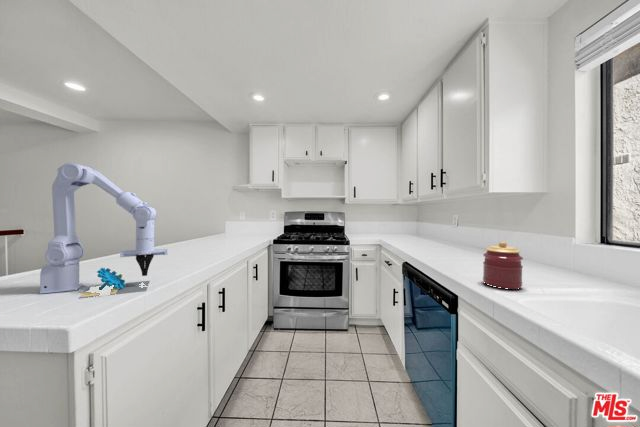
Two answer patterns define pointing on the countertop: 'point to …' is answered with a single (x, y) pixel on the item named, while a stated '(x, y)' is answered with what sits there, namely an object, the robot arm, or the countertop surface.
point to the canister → (503, 267)
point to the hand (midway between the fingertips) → (144, 275)
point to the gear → (110, 279)
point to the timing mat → (127, 288)
